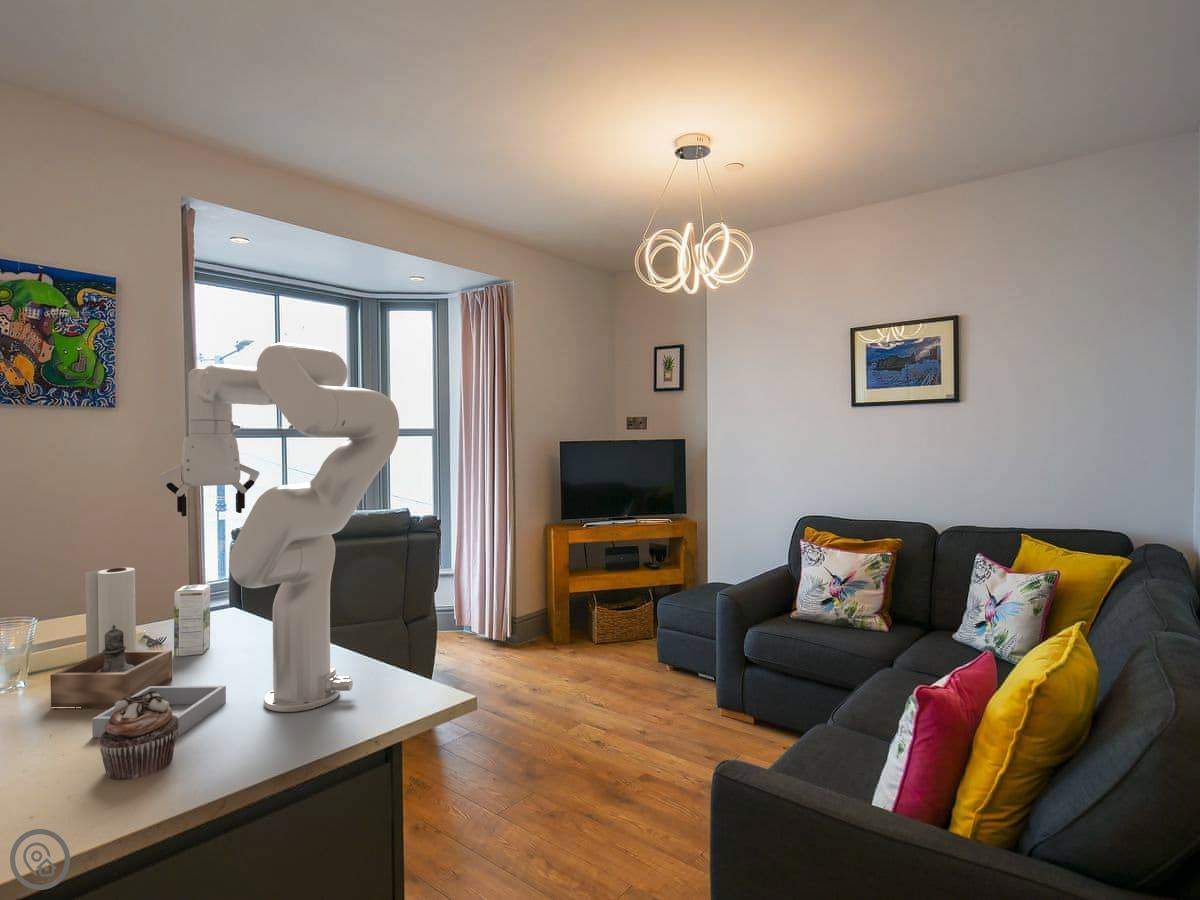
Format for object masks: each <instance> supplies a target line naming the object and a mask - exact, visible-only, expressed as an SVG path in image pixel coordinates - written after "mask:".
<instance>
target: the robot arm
mask: <svg viewBox="0 0 1200 900" xmlns="http://www.w3.org/2000/svg"><path fill="white" fill-rule="evenodd" d="M187 378H188V379H187V380H188V384H187V385H188V436H184V437H183V443H182V447H181V464H179V465H177V466H175V467H173V468H171V469H168V470H167V471H165V472H162V473H160V475H159V478H160V479H161V481H162V482H163V484H164V485H165V487H166V488H167V489H168V490H169V491H171V492H172V493H173V494H174V495H176V501H177V502H176V505H177V506H176V510H177V511H176V512H177V513H181V514H180V516H181V517H186V516H187V513H188V512H187V496H186V492H187V491H188V490H189V489H190V488H191V487H210V486H212V487H213V486H214V487H215V486H230V485H231V486H232V487H234V488H235V489H236V491H237V492H236V493H235V512H236V513H238V514H242V513H243V509H245V508H246V493H247V492H248V491H249V489H251V488H252V487H254V485H255V483H256V481H257V479H258V477H259V476H260V472H259V470H256V469H254V468H251V467H249V466H246V465H244V464H242V463H241V462H240V460H241V459H240V453H239V445H238V440H237V437H236V436H233V433H234V432H236V431H238V432H239V431H240V430H241V424H239V423H237V424H236V423H234V422H233V405H251V406H253V405H257V406H270V405H273V406H274V405H275V406H276V407H277V409H278V410H279V411H280V412H281V414H282V415H283V416H284V417H285V419H286V420H287V421H288V423H289V424H290V425H291V426H292V427H293V428H294V429H295V430H296V431H297V432H299V433H300V434H302V435H305V436H306V437H310V438H311V437H312V438H348V439H347V440H346V441H345V442H344V443H342V444H341V445H338V447H337V448H336V449H334V450H332V452H331V453H330V454H329V455H328V456H327V457H326V458H325V459H324V461H323V462H322V464H321V466H320V468H319V469H318V471H317V473H316V475H315V476H314V477H313V478H312V479H311V480H309V481H307V482H304V483H292V484H283V485H277V486H274V487H271V488H269V489H267V490H266V491H265V492H263V493H262V494H261V495H260V496H258V498H257V500H256V501H255V503H254V505H253V506H252V507H251V510H250V512H249V514H248V515H247V518H246V519H245V522H244V523H243V525H242V527H241V529H240V531H239V533H238V534H237V537H236V538H235V541H234V543H233V545H232V547H231V551H230V554H229V571H230V574H231V577H232V578H233V580H234V581H235V582H236V583H237V584H238V585H240V586H242V587H244V588H249V589H259V588H265V587H271V586H275V585H278V584H280V585H279V587H278V589H277V591H276V594H275V597H274V599H273V604H272V678H273V679H272V681H273V682H272V683H273V684H272V685H273V687H272V689H271V690H270V691H268V692H267V693H266V694H265V695H264V697H263V706H264V707H265V708H266V709H267V710H270V711H274V712H278V713H295V712H302V711H308V710H309V711H310V710H312V709H315V708H316V707H317V708H319V706H320V707H322V705H323V706H325V705H327V704H329V703H331V702H333V701H334V700H336V699H337V698H338V696H339V694H340V692H349V691H350V692H351V691H352V689H353V684H354V683H353V680H352V679H351V676H350V675H349V676H346V675H345V676H338V675H337V674H336V673H337V672H336V671H337V670H336V668H334V667H333V668H331V582H332V575H333V570H334V566H335V565H334V564H335V561H336V560H335V558H336V543H335V540H334V538H333V534H336V533H338V532H340V531H342V530H343V529H344V527H345V526H346V525H347V523H348V522H349V521H350V519H351V517H353V514H354V513H355V510H356V509H357V508H358V506H359V504H360V502H361V501H362V499H363V498H364V496H365V494H366V492H367V491H368V489H369V487H370V486H371V484H372V482H373V480H374V479H376V476H377V475H378V474H379V472H380V471H381V470H382V469H383V467H384V466H385V464H386V463H387V462H388V461H389V459H390V457H391V456H392V453H394V450H395V447H396V445H397V442H398V439H399V435H400V419H399V413H398V409H397V406H396V405H395V403H394V402H393V400H391V398H390V397H388V395H387V396H386V395H385V394H384V393H382V392H379V391H377V390H372V389H368V388H367V389H366V388H361V387H353V386H351V387H350V386H349V387H348V386H344V384H345V382H346V381H347V379H348V367H347V365H346V363H345V361H344V360H343V358H342V357H341V356H340V355H339V354H337V353H336V352H334V351H332V350H330V349H327V348H323V347H317V346H312V345H305V344H304V345H303V344H297V343H289V342H277V343H273V344H271V345H268V346H267V347H266V348H264V350H262V351H261V353H260V355H259V356H258V358H257V362H256V367H254V366H253V367H252V366H243V365H232V364H221V363H217V364H216V363H215V364H211V365H208V366H206V367H195V368H193V369H191V370H190V371H189V373H188V377H187ZM241 471H242V472H243V473H246V474H248V475H249V478H248V479H247V480H246V482H244V483H243V484H242V483H241V482H240V480H241ZM178 474H180V478H181V482H182V484H181V485H180V486H177V485H176V484H174V483H173V482H172V480H171V477H173V476H176V475H178Z"/></svg>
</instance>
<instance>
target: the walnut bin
mask: <svg viewBox="0 0 1200 900" xmlns="http://www.w3.org/2000/svg"><path fill="white" fill-rule="evenodd" d="M124 653H125V661H126V663H127V664H131V665H134V667H133V668H131V669H129V670H127V671H125V672H114V673H96V671H98V670H100V669H102V668H103V666H104V662H105V653H103V652H101V653H99V654H97V655H95V656H92V657H90V658H88V659H87V658H86V659H84V660H81V661H79V662H77V663H74V664H72V665H70V666H68V667H65V668H63V669H61V670H58V671H55V672H54V673H51V674H50V680H49V681H50V708H51V707H75V708H76V707H81V708H82V709H110V708H112V707H114V705H115V703H116V702H118V701H121V700H122V698H126V697H131V696H133V695H135V694H137V693H138V692H140V691H142V690H144V689H146V688H147V687H149V686H167V685H168V684H169V683H171V682H173V650H165V649H164V650H136V651H124Z"/></svg>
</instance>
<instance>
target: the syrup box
mask: <svg viewBox="0 0 1200 900" xmlns="http://www.w3.org/2000/svg"><path fill="white" fill-rule="evenodd" d="M173 599H174V601H173V603H174V605H173V606H174V607H173V611H174V615H173V657H187V656H195V655H204V654H205V652H206V651H207V650H208V649H209V648H210V647H211V585H210V584H191V585H189V584H188V585H183V586H181V587H180V588H178V589H177V590H175V591H174V597H173Z"/></svg>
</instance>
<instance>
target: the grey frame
mask: <svg viewBox="0 0 1200 900" xmlns="http://www.w3.org/2000/svg"><path fill="white" fill-rule="evenodd" d="M226 686H227V685H164V686H149V687H147V688H146V689H144V690H142V691H140V692H138V693H137V694H135V695H133V696H131V697H135V696H138V695H140V694H143V693H147V692H150V691H156V694H159V695H160V696H161V697H163V699H162V700H165V701H168V702H169V705H191V706H189V707H188V708H186V709H184V710H183V711H182V712H180V713H179V714H177V715H175V716H176V717H177V719H178V724H180V725H179V726H180V727H179V730H178V734H177V737H181V736H182V735H183V734H184V733H186V732H187V731H189V730H190V729H191V728H193V727H195V725H197V724H198V723H199V722H201V721H202V720H204V719H205V718H206V717H208V716H209V715H210V714H212V713H213V712H214V711H216V710H217V709H220V708H221V706H223V705H224V704H225V703H226V702H227V687H226ZM115 712H116V710H115V706H114V707H112V708H107V710H105V711H103V712H102V713H100V714H98V715H97V716H95V717H93V718H91V722H92V723H91V725H92V731H91V732H92V738H101V736H102V734H103V733H104V732H105V725H106V723H107V721H108V720H109V719H110V717H111V715H112V714H113V713H115ZM177 737H176V738H177Z"/></svg>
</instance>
